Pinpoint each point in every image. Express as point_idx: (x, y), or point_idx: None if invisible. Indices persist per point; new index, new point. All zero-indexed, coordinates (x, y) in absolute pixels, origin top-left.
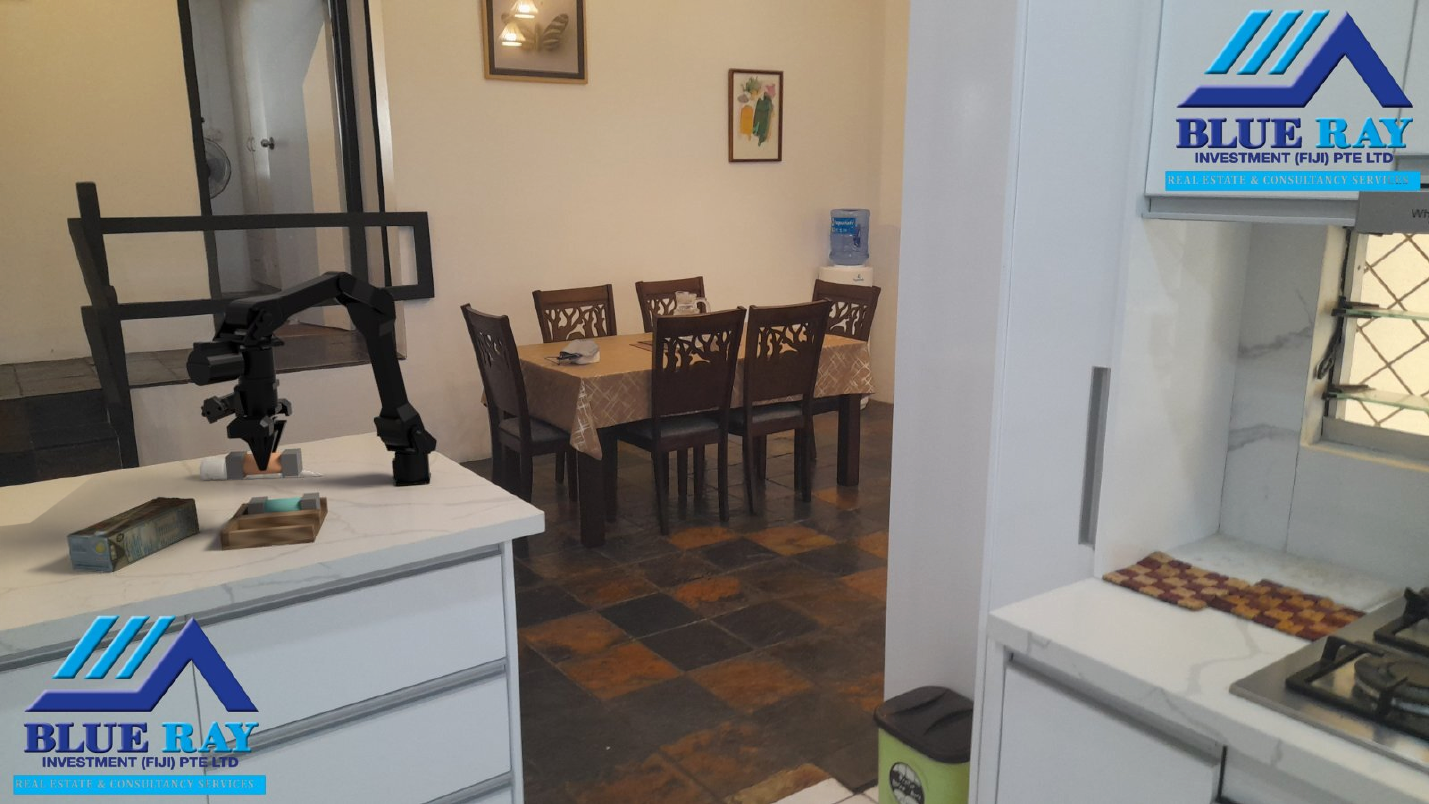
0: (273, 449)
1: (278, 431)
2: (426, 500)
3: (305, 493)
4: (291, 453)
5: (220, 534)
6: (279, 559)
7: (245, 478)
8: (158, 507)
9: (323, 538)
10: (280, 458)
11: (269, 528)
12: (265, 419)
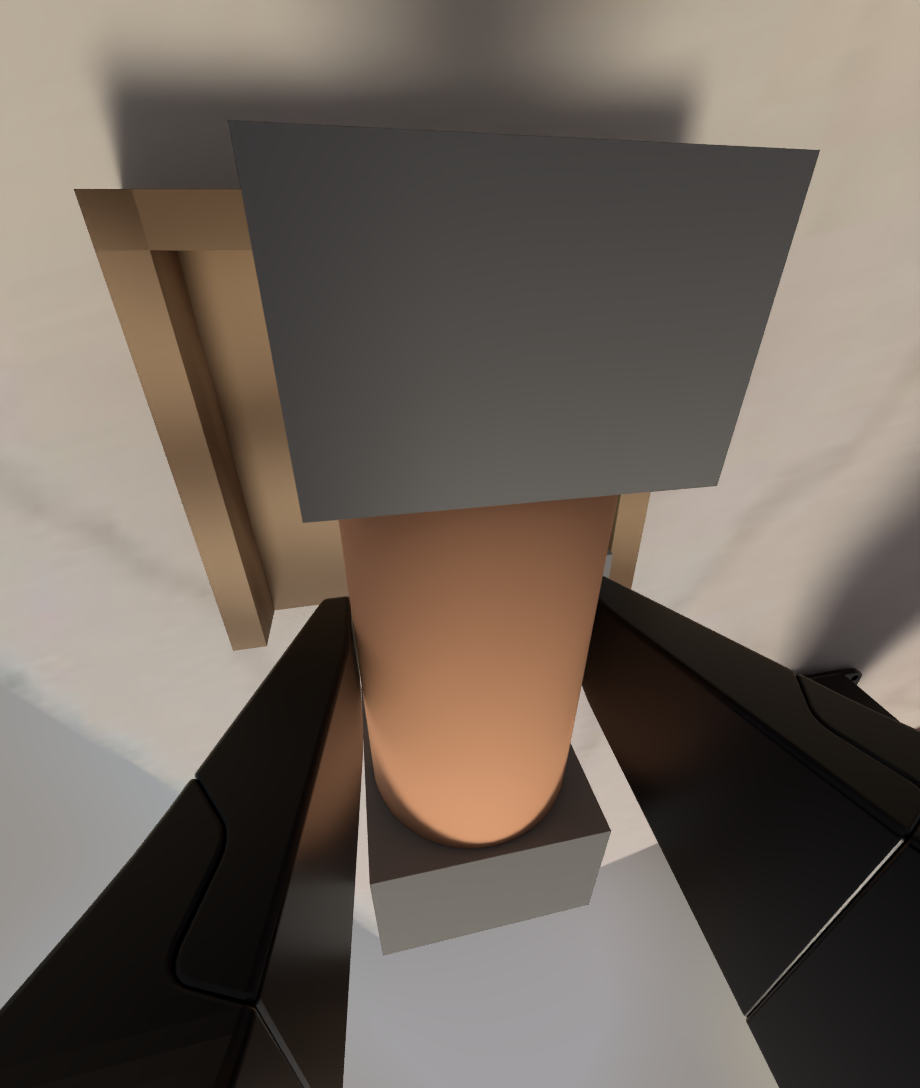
0: (629, 763)
1: (799, 1086)
2: (600, 772)
3: (609, 561)
4: (404, 927)
5: (77, 194)
6: (26, 537)
7: None
8: None
9: (293, 621)
10: (401, 817)
11: (200, 484)
12: None
